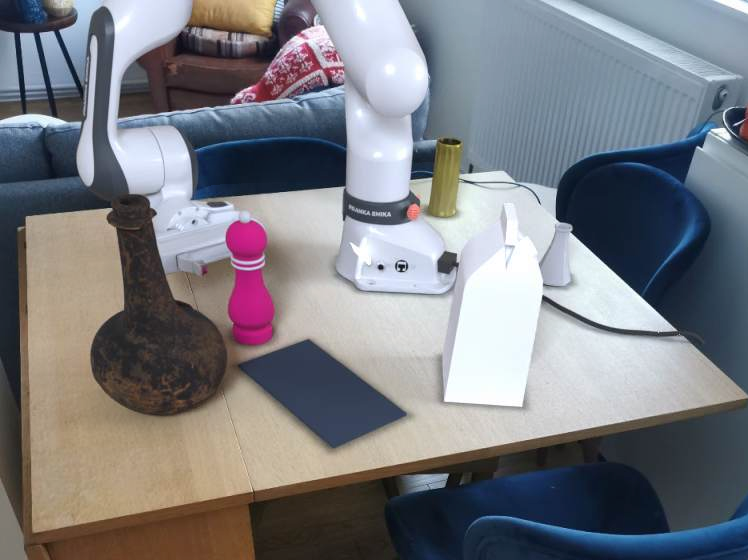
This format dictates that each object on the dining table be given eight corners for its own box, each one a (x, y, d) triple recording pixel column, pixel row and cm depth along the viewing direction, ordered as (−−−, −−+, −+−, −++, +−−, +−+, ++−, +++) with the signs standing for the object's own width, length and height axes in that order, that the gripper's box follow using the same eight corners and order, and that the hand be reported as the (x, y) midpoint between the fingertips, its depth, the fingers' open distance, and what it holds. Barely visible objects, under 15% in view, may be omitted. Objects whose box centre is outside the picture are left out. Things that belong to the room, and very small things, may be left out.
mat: (238, 366, 114) (237, 364, 114) (308, 341, 121) (308, 338, 120) (333, 448, 101) (333, 446, 101) (406, 415, 108) (406, 412, 108)
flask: (528, 281, 140) (539, 229, 133) (537, 266, 145) (548, 214, 138) (566, 291, 138) (579, 238, 132) (574, 274, 143) (587, 223, 136)
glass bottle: (248, 373, 113) (233, 182, 94) (200, 445, 100) (172, 241, 81) (136, 353, 115) (100, 162, 96) (76, 420, 102) (20, 216, 83)
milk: (442, 357, 120) (464, 190, 102) (514, 362, 120) (549, 196, 102) (444, 401, 111) (468, 227, 93) (522, 406, 111) (561, 234, 93)
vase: (425, 215, 159) (432, 144, 149) (429, 204, 164) (436, 134, 154) (454, 219, 159) (463, 147, 149) (457, 208, 163) (466, 137, 153)
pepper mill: (267, 350, 118) (260, 224, 104) (223, 343, 119) (210, 217, 105) (281, 327, 123) (276, 204, 109) (238, 320, 124) (228, 198, 110)
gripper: (123, 225, 117) (166, 260, 110) (237, 198, 127) (284, 228, 120) (130, 264, 121) (172, 299, 114) (240, 235, 131) (285, 266, 124)
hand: (230, 263), depth 117 cm, fingers open, 8 cm apart
